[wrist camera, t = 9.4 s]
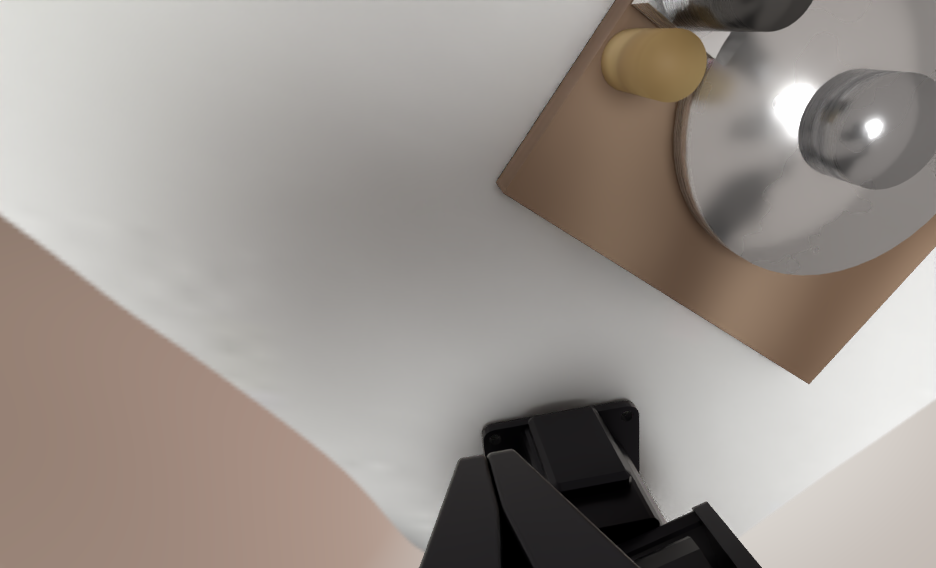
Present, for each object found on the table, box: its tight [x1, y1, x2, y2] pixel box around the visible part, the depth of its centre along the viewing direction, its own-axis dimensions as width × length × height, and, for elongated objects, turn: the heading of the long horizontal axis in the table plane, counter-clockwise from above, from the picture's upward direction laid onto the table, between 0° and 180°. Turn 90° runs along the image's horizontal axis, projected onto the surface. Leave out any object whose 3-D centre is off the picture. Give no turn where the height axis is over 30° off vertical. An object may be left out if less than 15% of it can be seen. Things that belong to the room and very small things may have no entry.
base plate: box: [496, 0, 936, 384], centre depth 19 cm, size 15×15×4 cm
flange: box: [632, 0, 936, 275], centre depth 17 cm, size 12×10×5 cm
